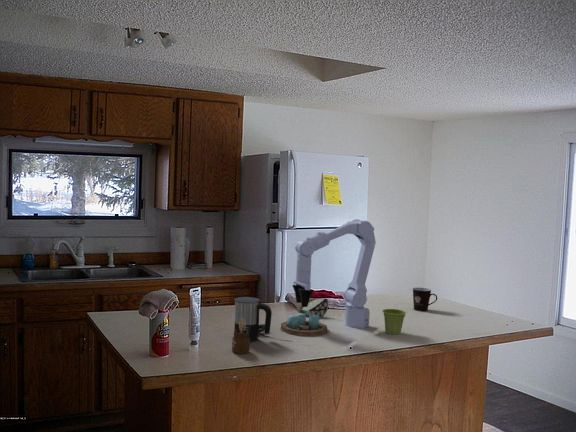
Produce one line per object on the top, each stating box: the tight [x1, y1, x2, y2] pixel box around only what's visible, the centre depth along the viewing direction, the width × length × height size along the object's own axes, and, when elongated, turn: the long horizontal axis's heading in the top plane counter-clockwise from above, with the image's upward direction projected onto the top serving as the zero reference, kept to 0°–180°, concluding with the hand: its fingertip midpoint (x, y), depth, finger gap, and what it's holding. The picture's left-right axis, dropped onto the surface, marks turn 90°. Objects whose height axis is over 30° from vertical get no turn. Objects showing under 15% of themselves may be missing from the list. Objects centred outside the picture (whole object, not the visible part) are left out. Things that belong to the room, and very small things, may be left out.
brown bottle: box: [231, 319, 251, 355], centre depth 208 cm, size 6×6×12 cm
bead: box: [287, 314, 298, 330], centre depth 238 cm, size 4×4×5 cm
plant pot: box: [382, 308, 407, 335], centre depth 244 cm, size 9×9×9 cm
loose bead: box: [295, 312, 307, 328], centre depth 243 cm, size 4×4×5 cm
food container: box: [296, 297, 329, 318], centre depth 266 cm, size 12×6×10 cm
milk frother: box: [233, 296, 273, 343], centre depth 228 cm, size 14×16×15 cm
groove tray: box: [280, 320, 328, 337], centre depth 238 cm, size 18×18×2 cm
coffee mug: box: [412, 286, 438, 312], centre depth 290 cm, size 12×9×10 cm
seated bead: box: [308, 315, 320, 330], centre depth 240 cm, size 4×4×5 cm
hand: (301, 304), depth 242 cm, fingers open, 7 cm apart
